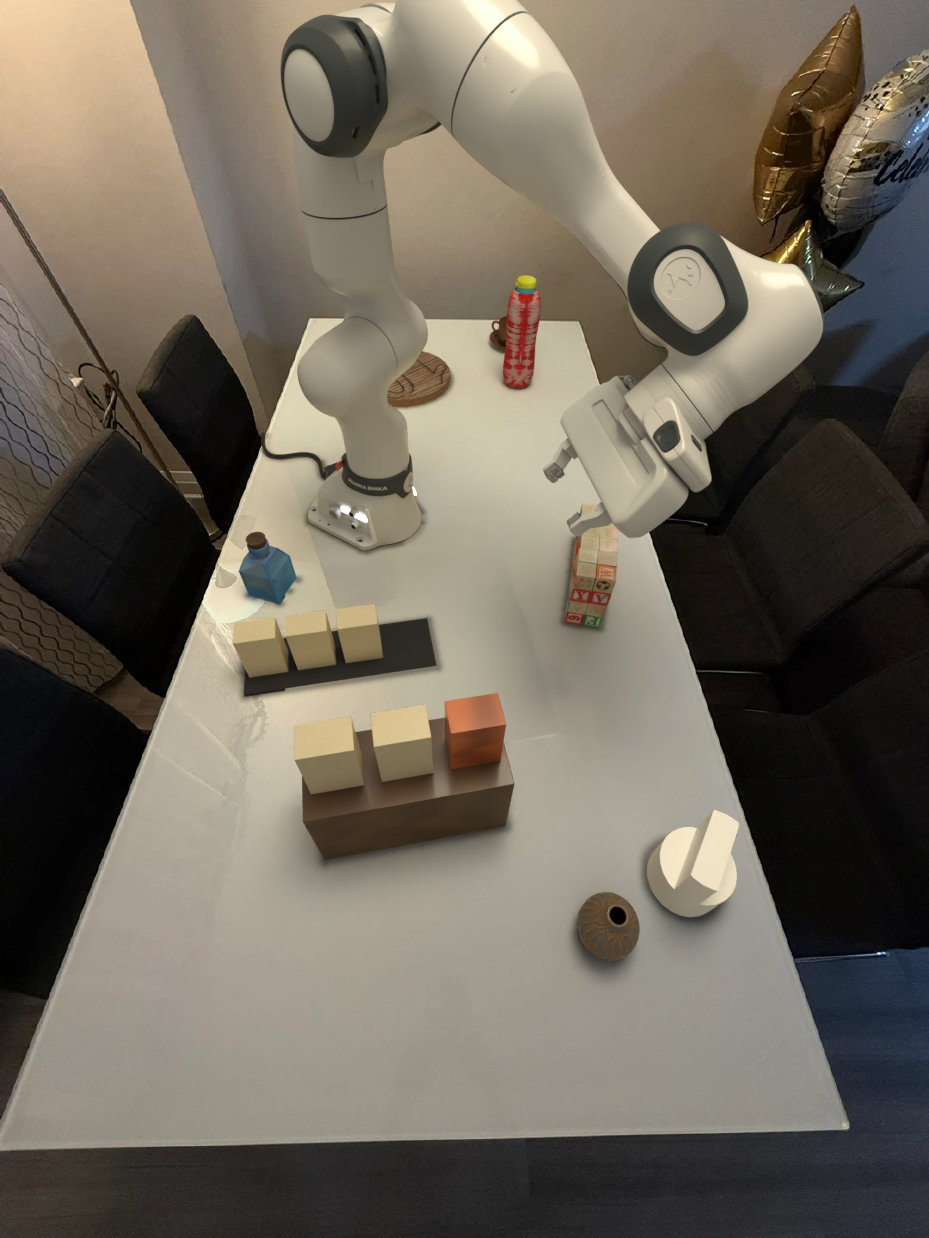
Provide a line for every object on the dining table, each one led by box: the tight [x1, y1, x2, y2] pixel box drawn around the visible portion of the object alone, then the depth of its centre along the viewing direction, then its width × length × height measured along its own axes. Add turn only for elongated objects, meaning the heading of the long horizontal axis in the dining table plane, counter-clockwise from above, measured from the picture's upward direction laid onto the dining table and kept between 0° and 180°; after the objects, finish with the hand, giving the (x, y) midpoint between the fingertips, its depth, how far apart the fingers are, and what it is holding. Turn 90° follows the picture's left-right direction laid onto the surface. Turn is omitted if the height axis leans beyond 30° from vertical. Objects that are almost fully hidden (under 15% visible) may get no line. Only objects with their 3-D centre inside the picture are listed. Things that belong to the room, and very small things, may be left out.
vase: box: [576, 891, 641, 962], centre depth 66 cm, size 7×7×9 cm
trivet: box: [387, 351, 451, 408], centre depth 148 cm, size 25×25×2 cm
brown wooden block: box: [293, 704, 515, 861], centre depth 70 cm, size 24×10×23 cm, turn 101°
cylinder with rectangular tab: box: [646, 809, 741, 918], centre depth 69 cm, size 9×9×12 cm
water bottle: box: [502, 274, 542, 390], centre depth 140 cm, size 12×8×25 cm, turn 177°
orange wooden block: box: [443, 692, 507, 770], centre depth 66 cm, size 6×4×9 cm, turn 101°
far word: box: [232, 603, 437, 697], centre depth 91 cm, size 30×10×10 cm, turn 101°
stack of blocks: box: [563, 502, 619, 629], centre depth 101 cm, size 21×6×12 cm, turn 169°
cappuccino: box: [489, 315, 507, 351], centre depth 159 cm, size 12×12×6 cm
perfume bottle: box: [238, 531, 298, 605], centre depth 99 cm, size 6×6×12 cm
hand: (558, 502), depth 67 cm, fingers open, 8 cm apart
